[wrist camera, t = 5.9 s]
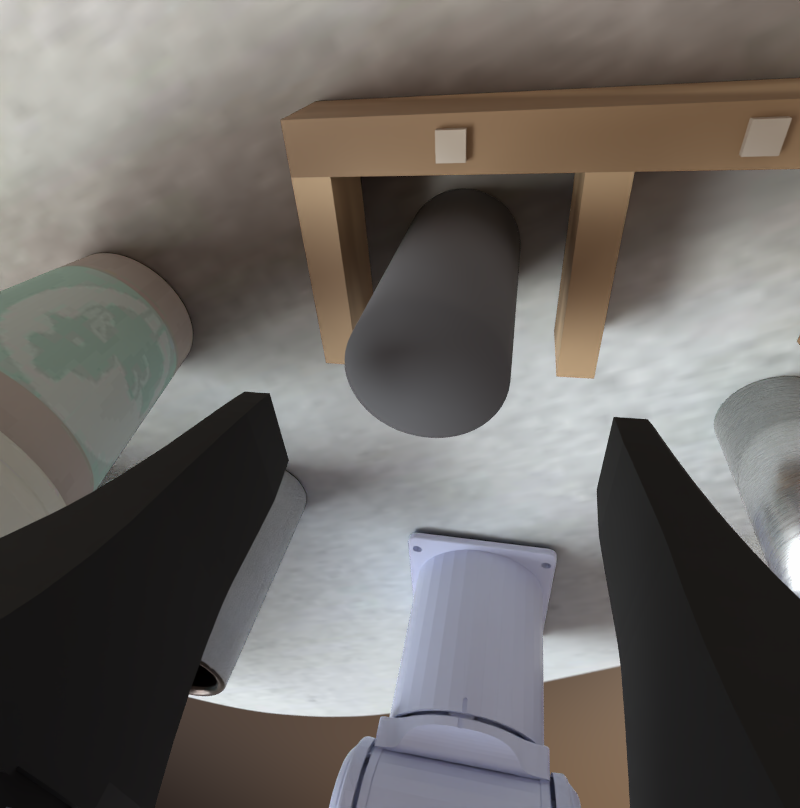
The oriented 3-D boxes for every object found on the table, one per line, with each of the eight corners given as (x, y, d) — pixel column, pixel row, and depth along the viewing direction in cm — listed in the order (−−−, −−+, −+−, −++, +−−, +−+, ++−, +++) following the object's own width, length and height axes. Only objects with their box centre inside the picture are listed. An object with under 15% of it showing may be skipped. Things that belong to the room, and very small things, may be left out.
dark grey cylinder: (515, 300, 19) (504, 444, 13) (410, 296, 20) (354, 430, 14) (525, 188, 17) (517, 303, 11) (405, 188, 18) (334, 295, 12)
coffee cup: (242, 395, 25) (76, 628, 16) (91, 382, 27) (-138, 586, 18) (189, 220, 20) (-102, 418, 11) (4, 216, 22) (-382, 387, 13)
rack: (836, 342, 18) (883, 399, 16) (348, 322, 21) (324, 366, 19) (979, 69, 13) (1081, 88, 11) (315, 101, 17) (277, 121, 14)
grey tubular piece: (221, 457, 29) (102, 635, 21) (297, 462, 28) (202, 653, 20) (244, 511, 31) (147, 687, 24) (315, 518, 30) (237, 704, 23)
